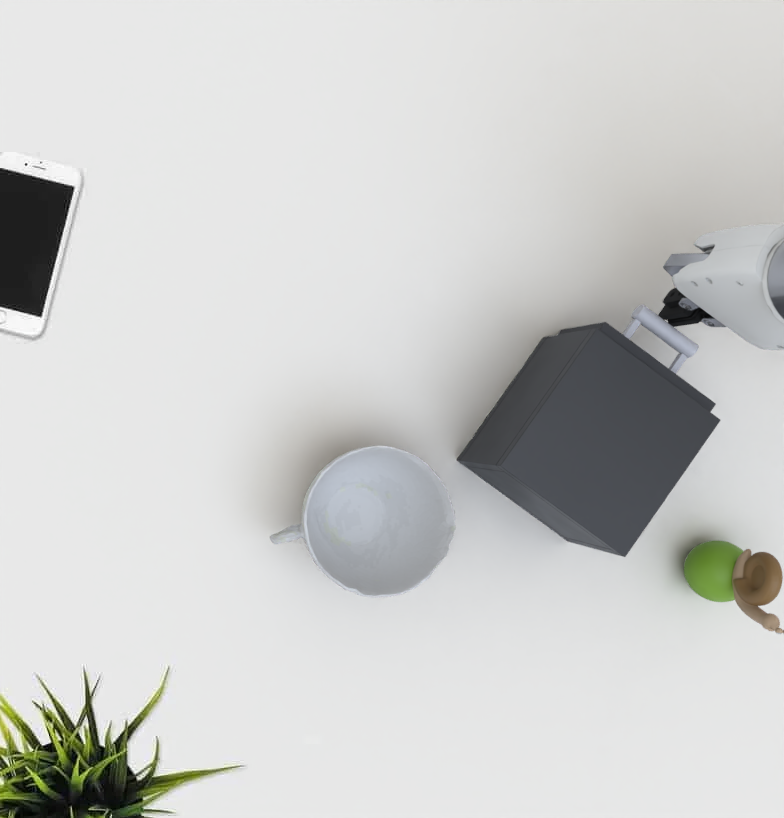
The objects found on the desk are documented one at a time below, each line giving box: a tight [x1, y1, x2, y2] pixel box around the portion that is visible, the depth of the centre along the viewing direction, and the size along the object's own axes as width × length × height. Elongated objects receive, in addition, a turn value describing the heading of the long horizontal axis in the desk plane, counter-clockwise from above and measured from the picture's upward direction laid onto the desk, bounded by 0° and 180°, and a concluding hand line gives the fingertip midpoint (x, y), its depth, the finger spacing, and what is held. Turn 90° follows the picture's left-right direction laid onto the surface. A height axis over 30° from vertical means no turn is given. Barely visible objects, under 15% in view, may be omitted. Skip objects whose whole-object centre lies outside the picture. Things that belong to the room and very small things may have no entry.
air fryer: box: [456, 328, 721, 558], centre depth 86 cm, size 14×13×10 cm
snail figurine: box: [683, 539, 784, 635], centre depth 86 cm, size 5×6×12 cm
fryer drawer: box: [557, 304, 716, 413], centre depth 86 cm, size 17×12×8 cm
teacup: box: [269, 445, 457, 599], centre depth 86 cm, size 15×12×8 cm
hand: (674, 307), depth 87 cm, fingers closed
